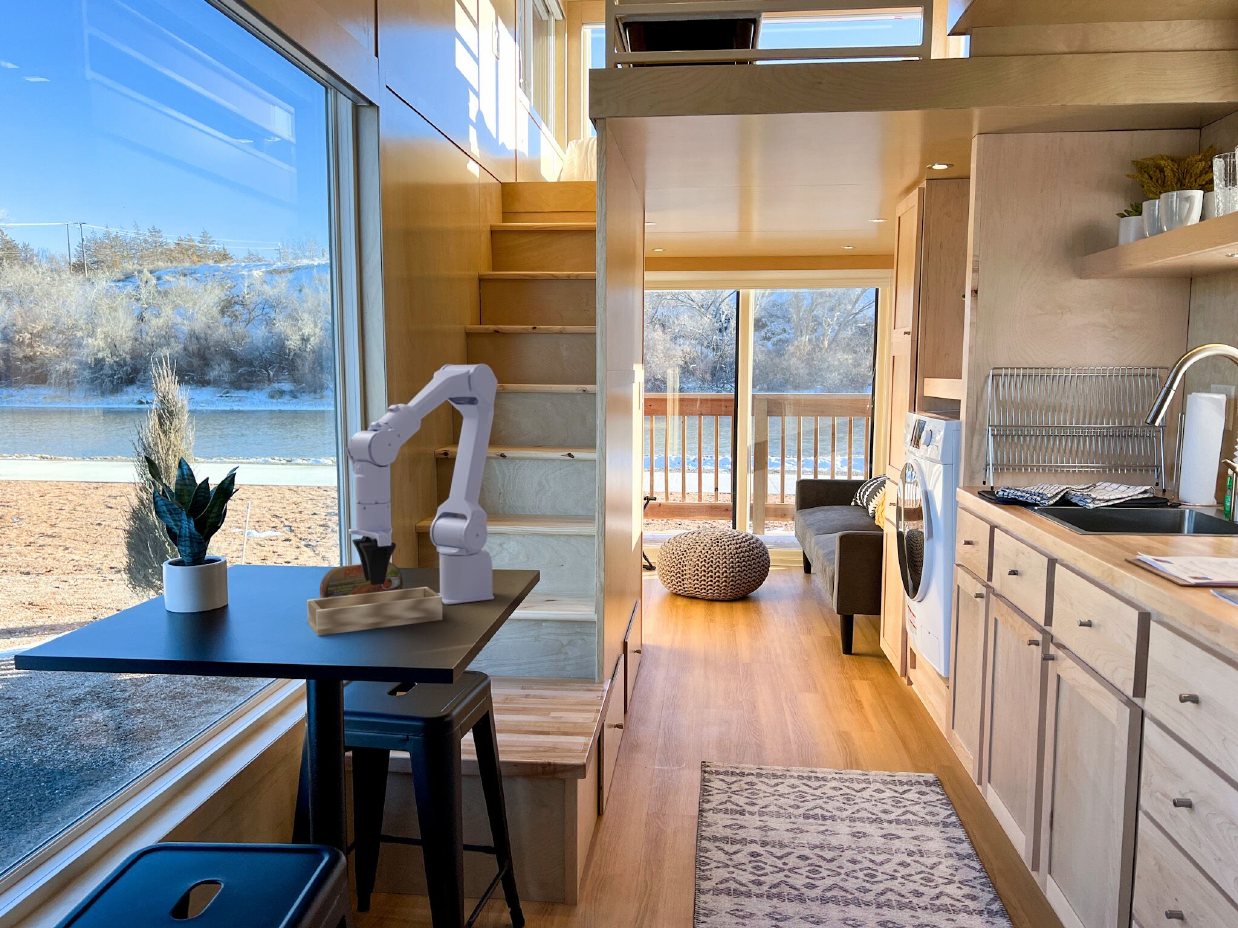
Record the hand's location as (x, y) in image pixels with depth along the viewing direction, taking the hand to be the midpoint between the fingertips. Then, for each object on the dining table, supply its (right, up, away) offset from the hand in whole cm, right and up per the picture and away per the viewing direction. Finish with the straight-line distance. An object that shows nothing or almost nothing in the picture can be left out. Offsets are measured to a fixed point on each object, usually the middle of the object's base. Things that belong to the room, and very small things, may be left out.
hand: (374, 581), depth 151 cm
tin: (-5, -6, +9) cm, 12 cm away
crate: (0, -7, +1) cm, 7 cm away
